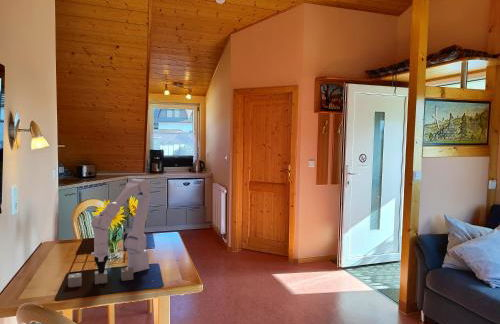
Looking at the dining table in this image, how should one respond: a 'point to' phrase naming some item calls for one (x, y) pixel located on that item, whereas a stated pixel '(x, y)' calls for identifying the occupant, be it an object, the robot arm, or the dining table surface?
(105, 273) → the plain block
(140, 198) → the robot arm
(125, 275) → the barred block
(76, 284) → the dotted block
